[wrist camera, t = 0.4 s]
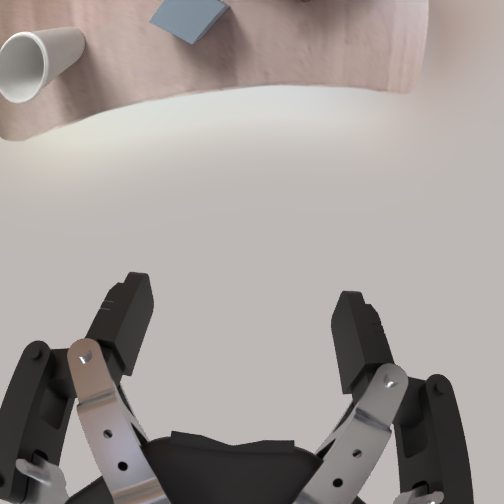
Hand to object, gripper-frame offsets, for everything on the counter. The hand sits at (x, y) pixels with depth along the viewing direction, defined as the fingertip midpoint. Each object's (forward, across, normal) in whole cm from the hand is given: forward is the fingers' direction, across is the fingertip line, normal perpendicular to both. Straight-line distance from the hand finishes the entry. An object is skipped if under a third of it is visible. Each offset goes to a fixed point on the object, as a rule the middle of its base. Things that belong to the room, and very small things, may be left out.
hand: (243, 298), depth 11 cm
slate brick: (+24, +8, -16) cm, 30 cm away
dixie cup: (+24, +25, -15) cm, 37 cm away
